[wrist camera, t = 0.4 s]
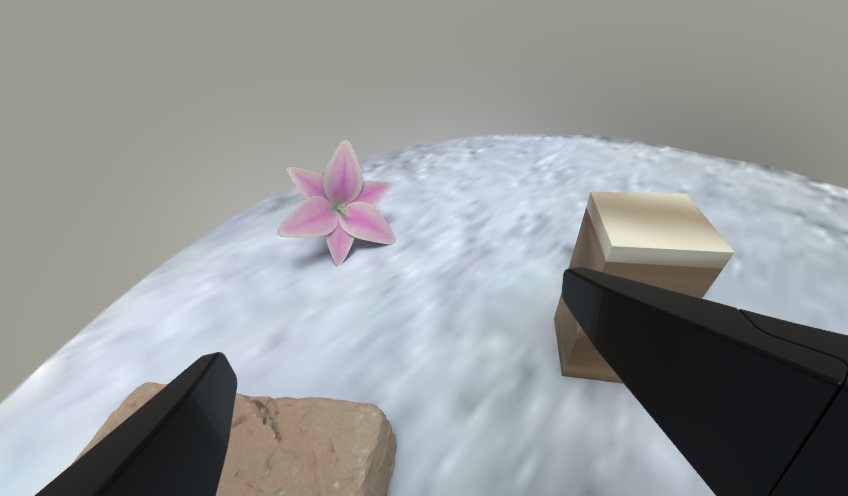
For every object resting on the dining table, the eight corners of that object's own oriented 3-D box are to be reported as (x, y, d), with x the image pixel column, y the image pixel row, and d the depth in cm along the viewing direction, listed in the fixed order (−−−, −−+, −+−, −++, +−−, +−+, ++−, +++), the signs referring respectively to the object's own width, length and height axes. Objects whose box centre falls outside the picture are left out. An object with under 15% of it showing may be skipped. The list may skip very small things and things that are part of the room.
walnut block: (640, 385, 22) (734, 252, 14) (562, 375, 23) (612, 246, 15) (620, 325, 26) (686, 194, 18) (554, 319, 27) (590, 191, 19)
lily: (279, 277, 35) (270, 232, 27) (288, 189, 40) (283, 130, 32) (389, 279, 39) (410, 239, 31) (383, 198, 44) (400, 147, 36)
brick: (399, 429, 21) (388, 395, 18) (369, 621, 15) (345, 618, 12) (176, 411, 24) (134, 378, 21) (69, 572, 17) (-14, 558, 14)
